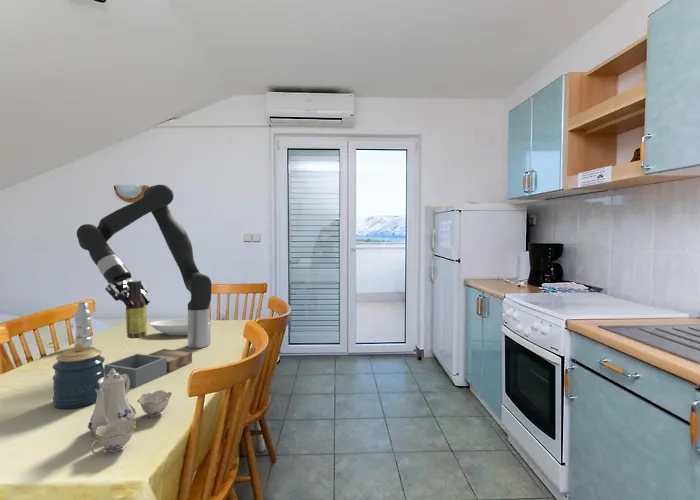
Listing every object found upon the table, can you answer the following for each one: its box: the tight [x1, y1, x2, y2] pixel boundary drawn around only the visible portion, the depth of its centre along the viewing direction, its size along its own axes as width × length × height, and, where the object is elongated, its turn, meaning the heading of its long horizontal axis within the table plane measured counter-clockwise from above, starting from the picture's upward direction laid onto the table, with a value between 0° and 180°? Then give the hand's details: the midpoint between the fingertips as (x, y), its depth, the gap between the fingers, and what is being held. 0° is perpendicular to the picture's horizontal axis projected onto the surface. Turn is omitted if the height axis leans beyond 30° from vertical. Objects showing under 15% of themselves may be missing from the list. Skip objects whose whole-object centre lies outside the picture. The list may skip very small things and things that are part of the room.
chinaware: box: [87, 368, 173, 455], centre depth 100 cm, size 28×17×17 cm, turn 4°
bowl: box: [149, 318, 214, 336], centre depth 196 cm, size 30×15×6 cm, turn 105°
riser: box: [147, 348, 193, 373], centre depth 149 cm, size 12×14×4 cm
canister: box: [52, 343, 105, 410], centre depth 116 cm, size 13×13×18 cm
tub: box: [103, 353, 168, 388], centre depth 135 cm, size 14×14×6 cm
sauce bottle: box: [125, 279, 148, 339], centre depth 135 cm, size 7×6×20 cm
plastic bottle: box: [73, 301, 93, 347], centre depth 169 cm, size 6×7×20 cm
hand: (140, 305), depth 134 cm, fingers closed on sauce bottle, 6 cm apart
